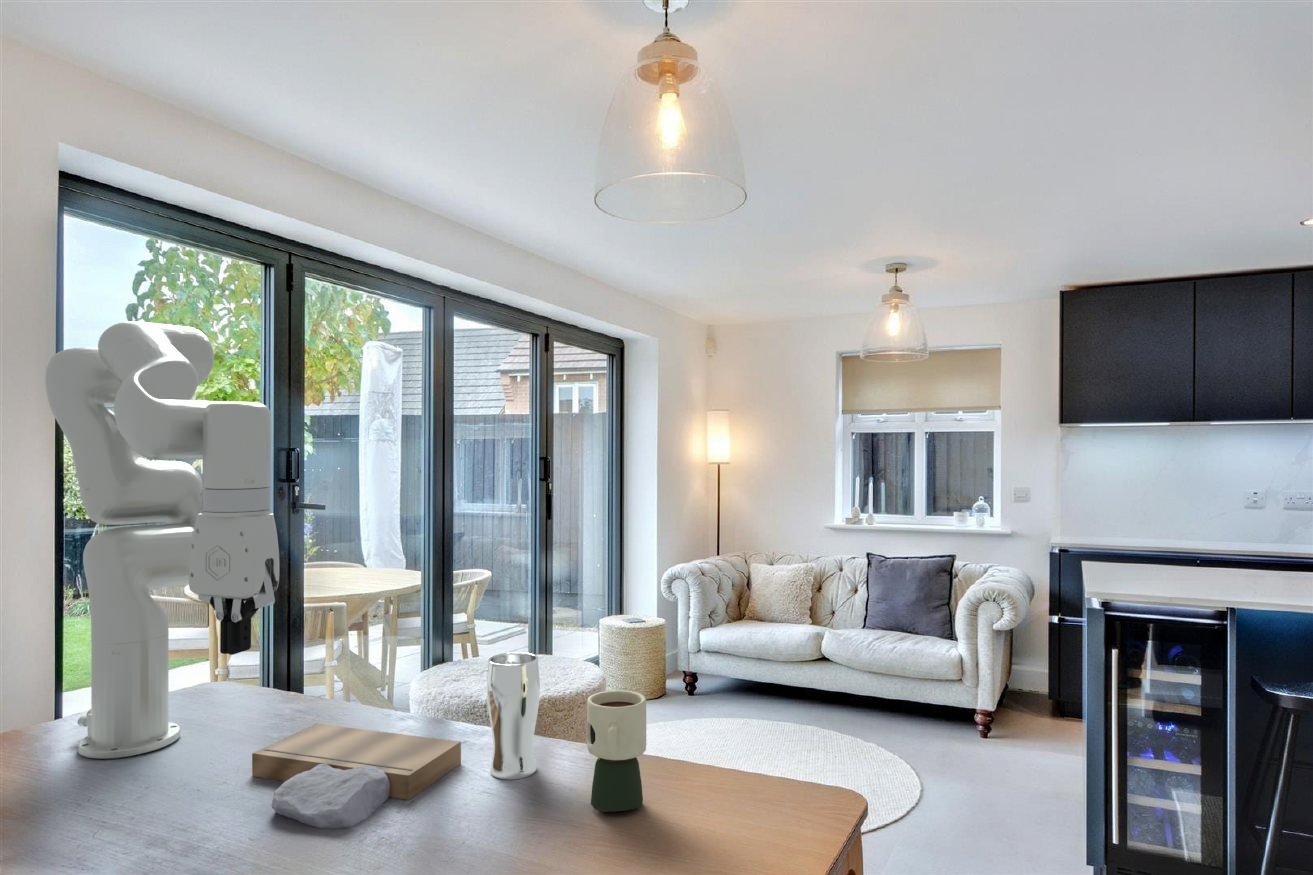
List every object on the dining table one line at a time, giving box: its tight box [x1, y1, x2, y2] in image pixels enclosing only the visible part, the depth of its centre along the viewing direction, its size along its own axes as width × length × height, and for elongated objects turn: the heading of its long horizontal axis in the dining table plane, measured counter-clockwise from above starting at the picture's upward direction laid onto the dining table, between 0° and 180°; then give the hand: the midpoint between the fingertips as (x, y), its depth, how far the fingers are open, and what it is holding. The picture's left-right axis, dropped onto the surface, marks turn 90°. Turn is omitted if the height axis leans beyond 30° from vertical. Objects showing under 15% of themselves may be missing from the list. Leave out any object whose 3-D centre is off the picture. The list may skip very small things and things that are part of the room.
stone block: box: [271, 764, 390, 829], centre depth 99 cm, size 12×5×10 cm
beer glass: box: [486, 651, 541, 781], centre depth 110 cm, size 7×7×15 cm
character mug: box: [586, 689, 647, 813], centre depth 99 cm, size 11×7×13 cm, turn 177°
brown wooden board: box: [251, 723, 462, 801], centre depth 111 cm, size 24×12×3 cm, turn 72°
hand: (235, 651), depth 102 cm, fingers closed
